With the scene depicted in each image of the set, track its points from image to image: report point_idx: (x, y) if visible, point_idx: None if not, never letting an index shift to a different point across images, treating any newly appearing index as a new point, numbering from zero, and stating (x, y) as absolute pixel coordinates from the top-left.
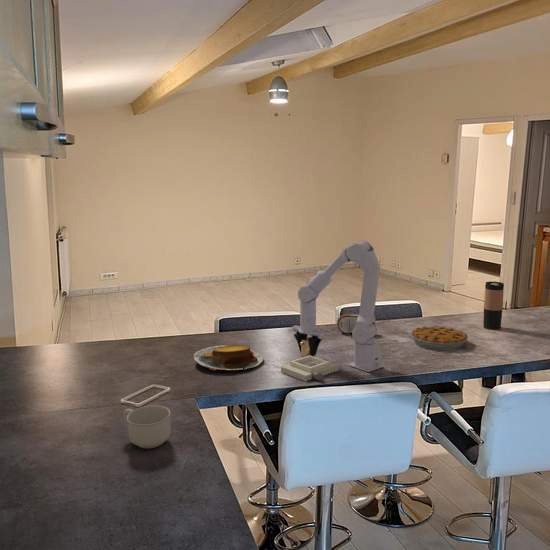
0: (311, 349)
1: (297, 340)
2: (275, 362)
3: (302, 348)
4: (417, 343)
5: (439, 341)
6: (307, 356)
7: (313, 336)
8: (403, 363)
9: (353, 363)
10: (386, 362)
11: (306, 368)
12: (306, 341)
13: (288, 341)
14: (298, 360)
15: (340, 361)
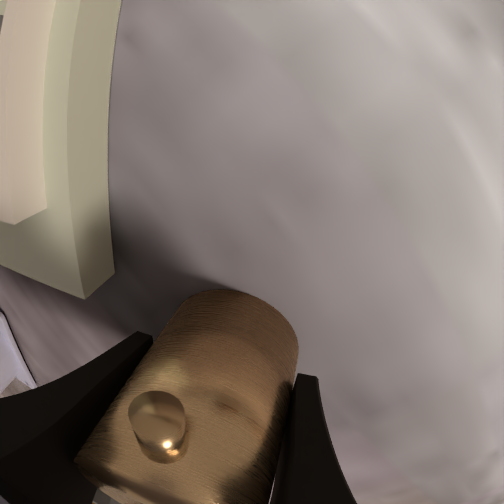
0: (88, 368)
1: (330, 501)
2: (420, 8)
3: (212, 384)
4: (106, 496)
5: None
6: (4, 177)
7: (3, 491)
8: (3, 391)
9: (3, 335)
10: (15, 389)
11: None
12: (91, 460)
13: (498, 463)
14: (9, 18)
15: (59, 357)
